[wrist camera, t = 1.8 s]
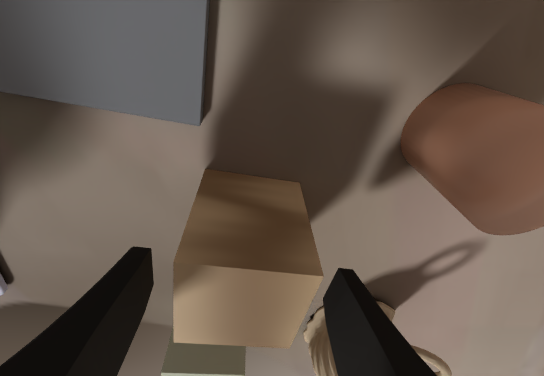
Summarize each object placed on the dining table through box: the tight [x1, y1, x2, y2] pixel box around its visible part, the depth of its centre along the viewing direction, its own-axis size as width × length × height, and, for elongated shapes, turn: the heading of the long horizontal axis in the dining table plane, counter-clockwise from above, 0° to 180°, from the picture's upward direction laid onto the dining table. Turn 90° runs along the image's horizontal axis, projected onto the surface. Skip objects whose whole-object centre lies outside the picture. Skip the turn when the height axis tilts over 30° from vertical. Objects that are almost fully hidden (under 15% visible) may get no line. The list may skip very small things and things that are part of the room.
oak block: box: [174, 169, 324, 348], centre depth 11 cm, size 4×4×6 cm
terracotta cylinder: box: [401, 83, 544, 235], centre depth 10 cm, size 4×4×4 cm
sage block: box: [161, 326, 246, 376], centre depth 17 cm, size 4×4×4 cm
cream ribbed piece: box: [303, 301, 452, 376], centre depth 17 cm, size 4×8×5 cm, turn 122°
